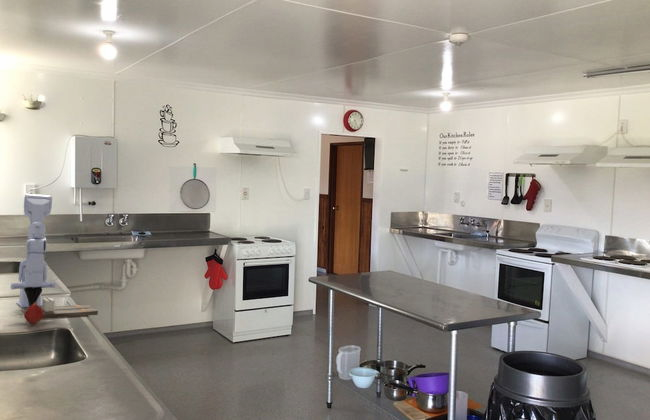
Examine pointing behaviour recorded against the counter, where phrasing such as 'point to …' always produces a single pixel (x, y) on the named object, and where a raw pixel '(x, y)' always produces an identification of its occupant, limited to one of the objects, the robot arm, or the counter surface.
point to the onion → (33, 314)
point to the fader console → (70, 311)
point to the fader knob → (48, 304)
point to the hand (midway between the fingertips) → (31, 307)
